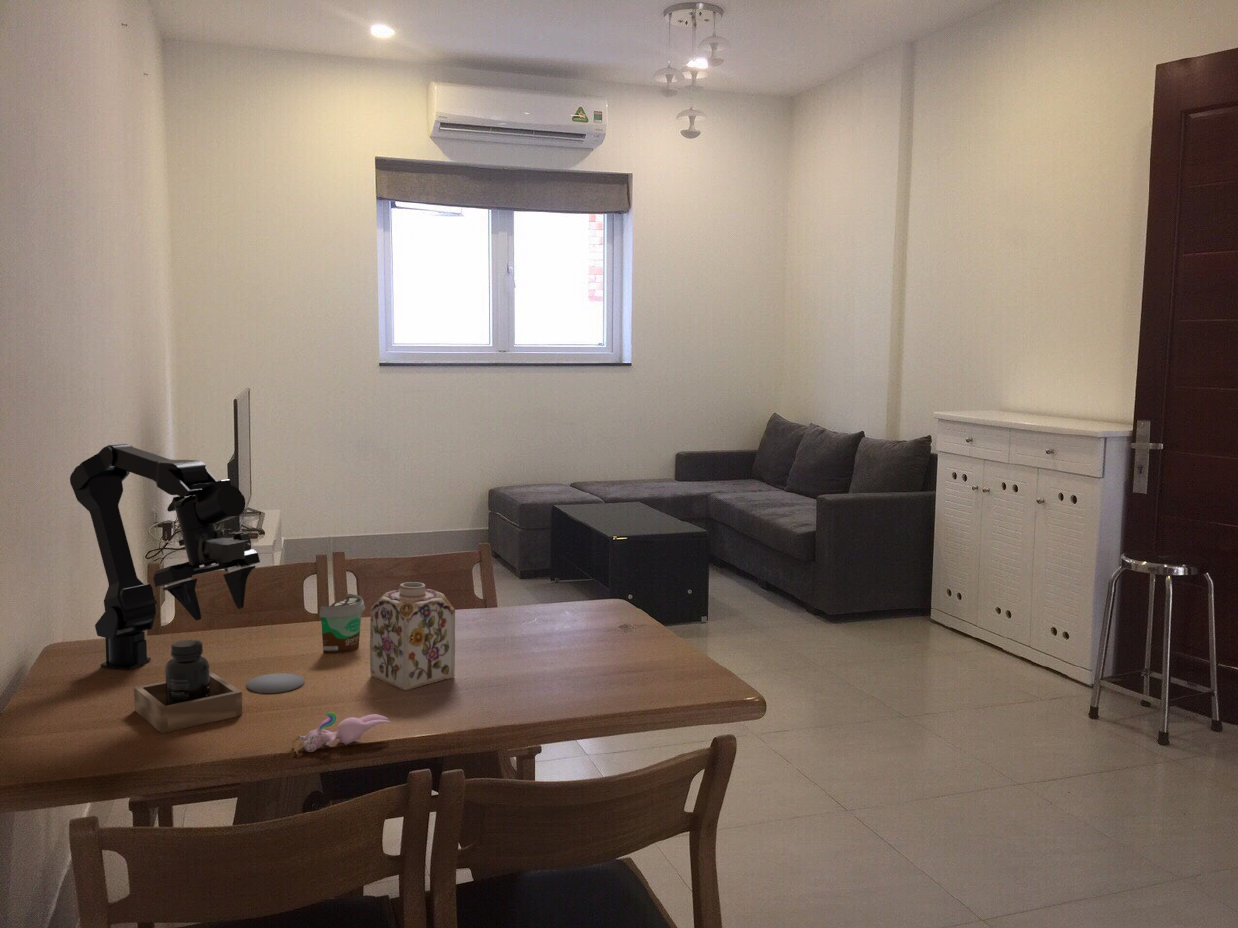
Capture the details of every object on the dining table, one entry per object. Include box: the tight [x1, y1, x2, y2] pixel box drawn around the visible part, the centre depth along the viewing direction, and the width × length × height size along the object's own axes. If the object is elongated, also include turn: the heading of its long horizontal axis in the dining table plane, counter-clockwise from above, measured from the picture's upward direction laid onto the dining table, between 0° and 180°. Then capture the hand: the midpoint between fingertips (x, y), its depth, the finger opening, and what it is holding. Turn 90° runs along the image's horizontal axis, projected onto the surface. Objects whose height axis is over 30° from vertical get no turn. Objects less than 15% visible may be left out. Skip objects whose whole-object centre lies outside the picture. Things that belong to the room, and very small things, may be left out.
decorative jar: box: [369, 581, 456, 691], centre depth 190 cm, size 12×12×18 cm
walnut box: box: [133, 672, 243, 734], centre depth 169 cm, size 13×13×4 cm
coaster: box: [246, 672, 305, 694], centre depth 185 cm, size 10×10×1 cm
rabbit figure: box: [291, 711, 391, 755], centre depth 158 cm, size 6×6×15 cm
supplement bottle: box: [164, 639, 211, 706], centre depth 169 cm, size 7×7×12 cm
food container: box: [319, 593, 366, 655], centre depth 207 cm, size 12×6×10 cm, turn 168°
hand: (220, 614), depth 180 cm, fingers open, 9 cm apart
